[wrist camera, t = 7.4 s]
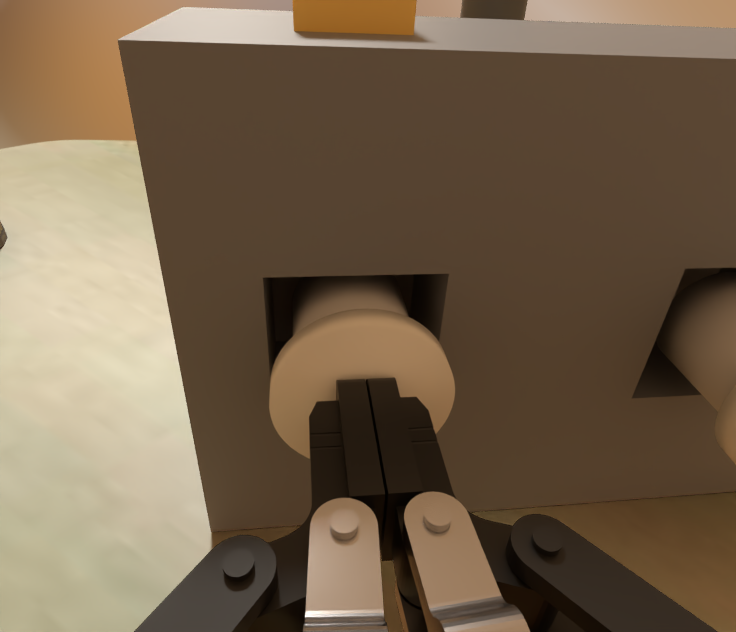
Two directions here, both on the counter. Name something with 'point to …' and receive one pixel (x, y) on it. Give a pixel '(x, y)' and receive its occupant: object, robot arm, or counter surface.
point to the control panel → (444, 232)
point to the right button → (707, 347)
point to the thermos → (2, 235)
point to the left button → (353, 351)
